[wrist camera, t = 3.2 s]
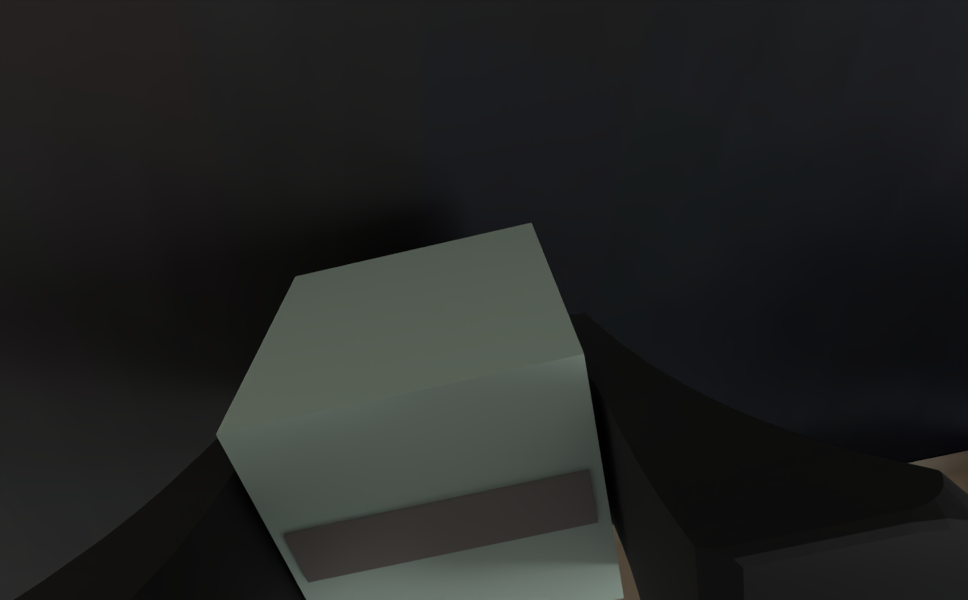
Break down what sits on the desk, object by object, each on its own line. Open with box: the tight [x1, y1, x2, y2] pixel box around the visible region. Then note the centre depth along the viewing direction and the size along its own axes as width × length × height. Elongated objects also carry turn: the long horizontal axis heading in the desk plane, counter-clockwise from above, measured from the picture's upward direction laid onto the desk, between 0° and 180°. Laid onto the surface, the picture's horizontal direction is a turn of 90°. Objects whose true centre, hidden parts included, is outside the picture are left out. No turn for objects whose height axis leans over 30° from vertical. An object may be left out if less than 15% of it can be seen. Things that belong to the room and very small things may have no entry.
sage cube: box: [216, 223, 624, 600], centre depth 11 cm, size 5×5×5 cm
